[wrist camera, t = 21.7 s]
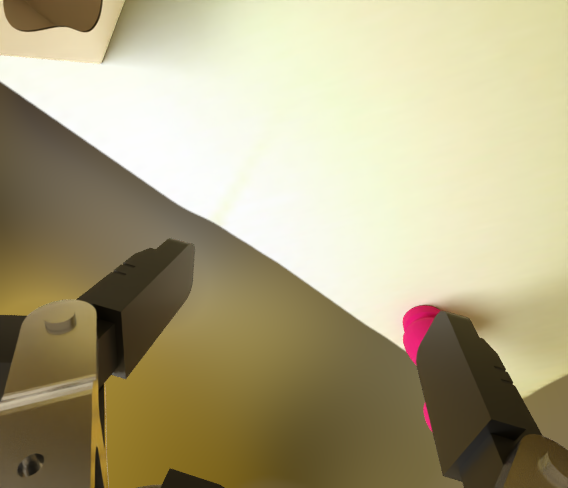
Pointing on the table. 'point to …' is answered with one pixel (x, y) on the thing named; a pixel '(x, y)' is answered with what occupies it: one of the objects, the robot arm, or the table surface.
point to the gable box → (58, 28)
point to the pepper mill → (417, 333)
